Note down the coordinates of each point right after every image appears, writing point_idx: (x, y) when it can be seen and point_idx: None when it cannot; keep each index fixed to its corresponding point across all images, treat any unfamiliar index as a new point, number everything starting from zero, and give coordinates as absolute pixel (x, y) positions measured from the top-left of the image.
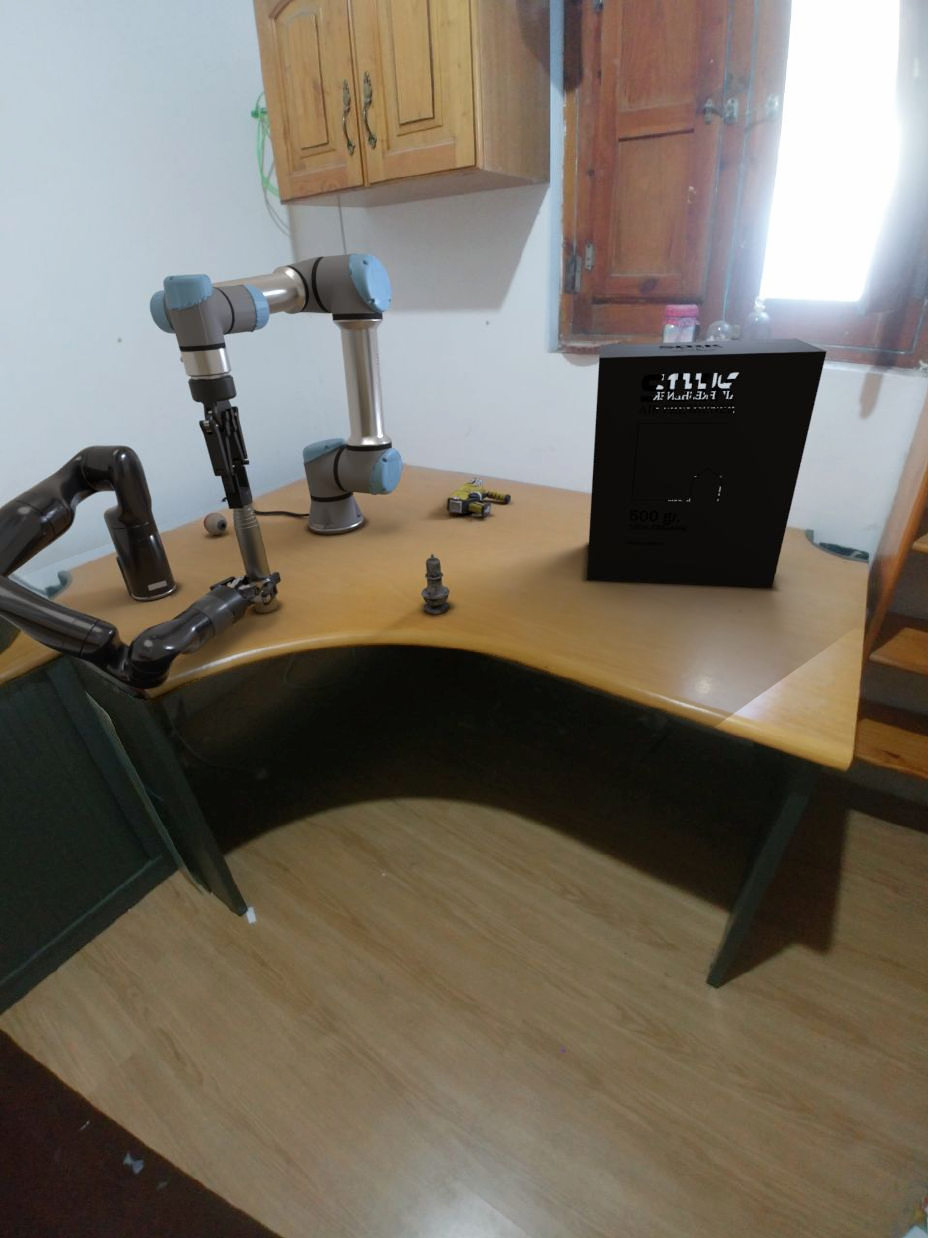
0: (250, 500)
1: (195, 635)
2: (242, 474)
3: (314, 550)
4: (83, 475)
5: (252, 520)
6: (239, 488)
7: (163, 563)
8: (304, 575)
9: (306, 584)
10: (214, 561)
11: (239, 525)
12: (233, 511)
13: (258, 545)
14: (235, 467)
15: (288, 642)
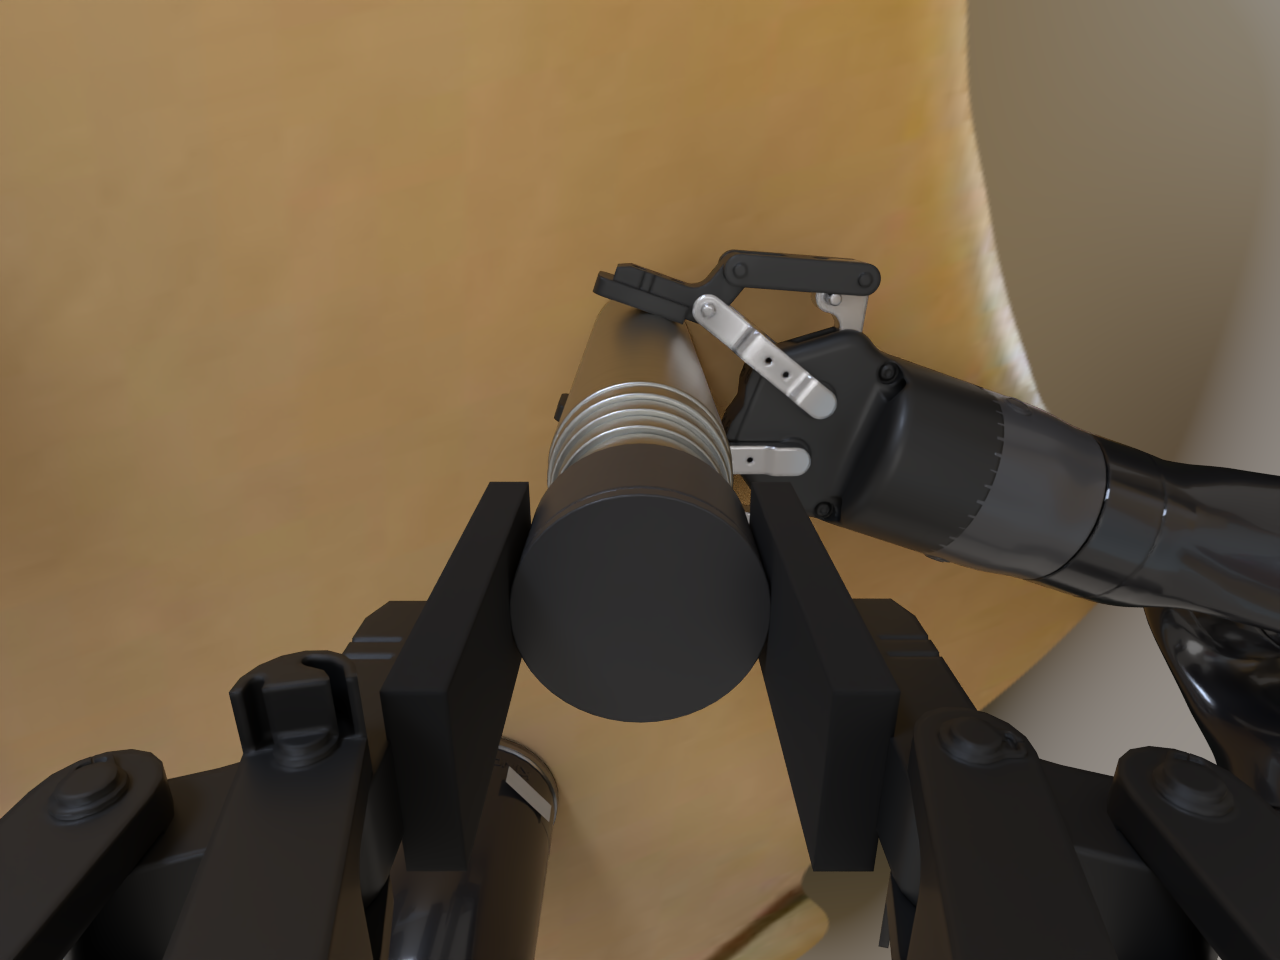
0: (669, 454)
1: (1193, 472)
2: (475, 661)
3: (10, 259)
4: None
5: (684, 413)
6: (802, 573)
7: None
8: (317, 240)
9: (416, 204)
10: (204, 688)
11: None
12: None
13: (685, 362)
14: (458, 803)
15: (961, 152)
